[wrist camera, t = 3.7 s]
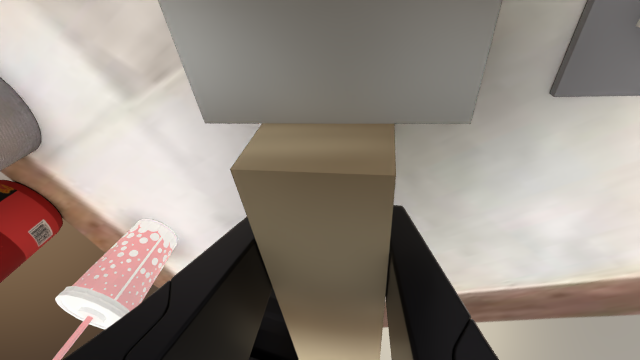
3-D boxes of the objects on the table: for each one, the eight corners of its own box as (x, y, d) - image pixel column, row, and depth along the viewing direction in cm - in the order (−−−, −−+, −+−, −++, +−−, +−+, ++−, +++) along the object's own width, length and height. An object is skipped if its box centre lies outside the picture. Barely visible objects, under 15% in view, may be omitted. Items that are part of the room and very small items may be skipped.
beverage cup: (119, 222, 31) (-21, 367, 20) (150, 206, 28) (6, 364, 18) (163, 255, 34) (60, 398, 23) (195, 244, 31) (95, 400, 20)
